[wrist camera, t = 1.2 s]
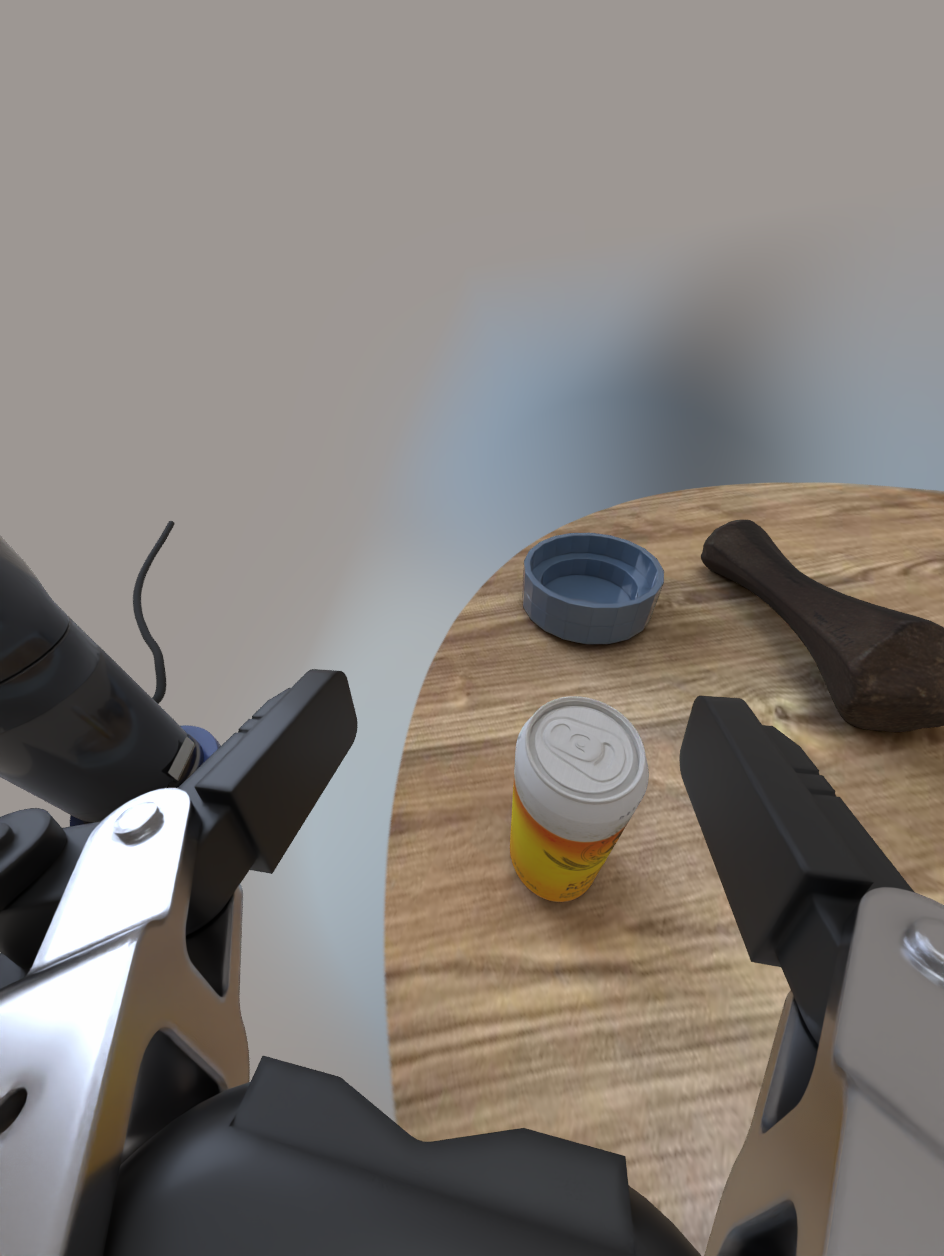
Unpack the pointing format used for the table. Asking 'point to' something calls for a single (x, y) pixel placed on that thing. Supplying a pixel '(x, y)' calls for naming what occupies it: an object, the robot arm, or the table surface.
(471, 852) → the table surface
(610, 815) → the beer can
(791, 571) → the dark brown pestle
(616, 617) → the blue bowl
